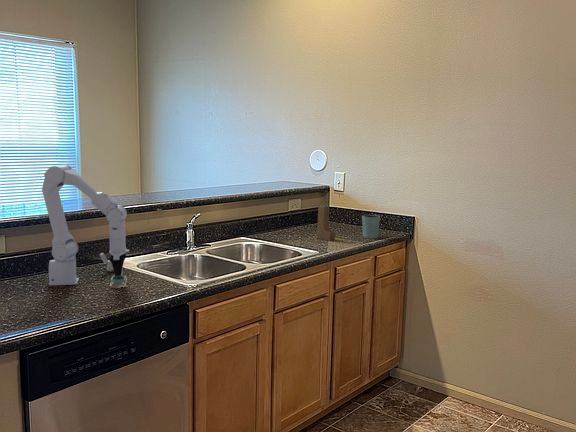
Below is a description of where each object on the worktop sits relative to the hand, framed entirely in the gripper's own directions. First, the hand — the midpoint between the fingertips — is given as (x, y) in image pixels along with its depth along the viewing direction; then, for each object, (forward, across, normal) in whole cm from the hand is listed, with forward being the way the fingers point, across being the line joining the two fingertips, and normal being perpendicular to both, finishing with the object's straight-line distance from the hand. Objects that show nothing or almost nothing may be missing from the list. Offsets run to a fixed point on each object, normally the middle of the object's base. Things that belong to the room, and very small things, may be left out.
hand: (118, 274), depth 209 cm
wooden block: (+4, +74, -103) cm, 127 cm away
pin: (+2, 0, 0) cm, 2 cm away
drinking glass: (+4, +78, -130) cm, 151 cm away
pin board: (+4, 0, 0) cm, 4 cm away
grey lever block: (+4, +20, +5) cm, 21 cm away
